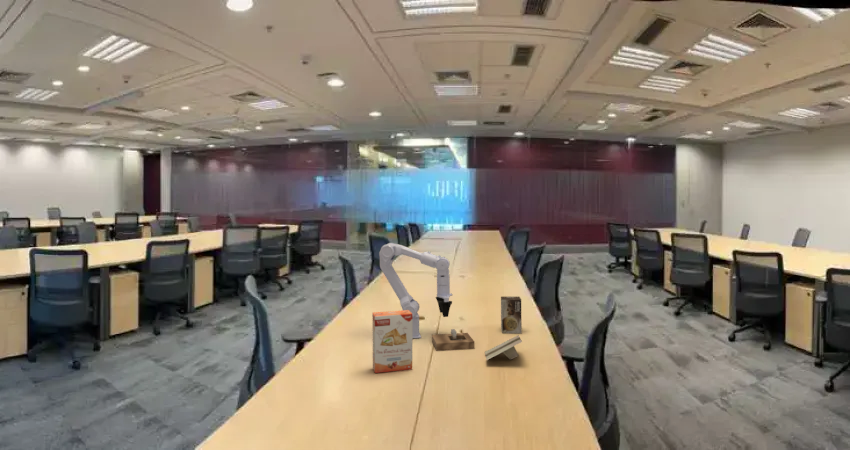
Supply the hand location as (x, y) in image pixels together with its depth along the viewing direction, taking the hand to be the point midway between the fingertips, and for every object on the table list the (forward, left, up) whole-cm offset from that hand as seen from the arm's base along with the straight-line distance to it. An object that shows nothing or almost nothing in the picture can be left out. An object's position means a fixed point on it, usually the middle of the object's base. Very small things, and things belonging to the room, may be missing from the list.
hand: (443, 314), depth 189 cm
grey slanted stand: (+17, -30, -11) cm, 36 cm away
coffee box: (+33, +3, -11) cm, 34 cm away
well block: (+2, -11, -10) cm, 15 cm away
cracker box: (-25, -33, -11) cm, 43 cm away
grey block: (+4, -11, -10) cm, 15 cm away
